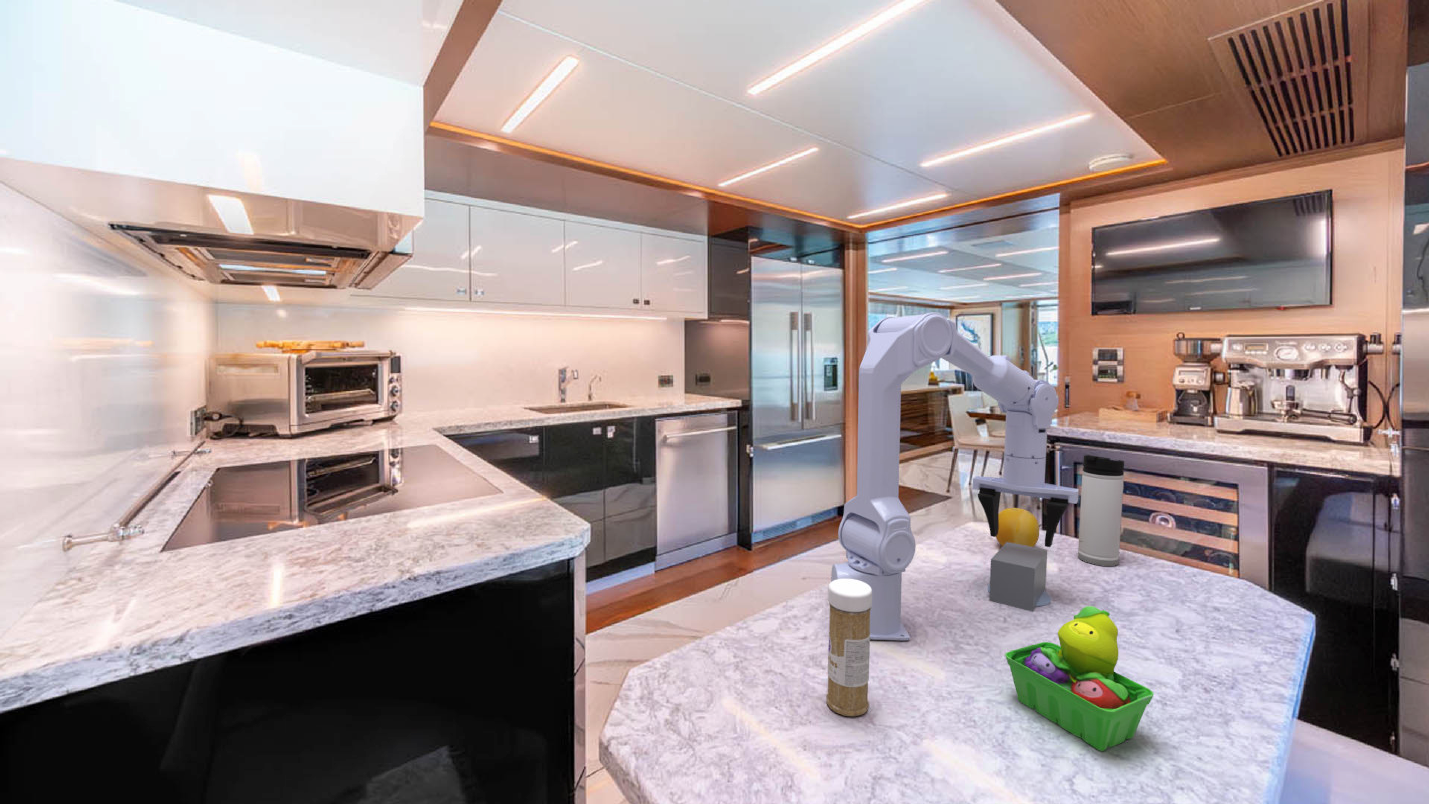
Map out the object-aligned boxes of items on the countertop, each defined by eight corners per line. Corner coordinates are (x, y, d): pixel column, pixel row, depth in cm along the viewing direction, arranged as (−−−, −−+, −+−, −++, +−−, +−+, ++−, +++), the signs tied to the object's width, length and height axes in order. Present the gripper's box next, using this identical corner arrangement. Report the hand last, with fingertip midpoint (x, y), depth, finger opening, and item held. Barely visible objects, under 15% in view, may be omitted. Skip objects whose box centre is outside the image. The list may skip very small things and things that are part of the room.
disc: (1003, 605, 84) (1003, 604, 84) (977, 582, 93) (977, 580, 93) (1063, 607, 84) (1063, 605, 84) (1032, 583, 93) (1032, 582, 93)
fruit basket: (998, 697, 62) (1003, 599, 61) (1051, 678, 65) (1056, 585, 64) (1106, 765, 51) (1113, 648, 50) (1162, 739, 55) (1169, 629, 54)
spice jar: (821, 694, 62) (823, 577, 61) (860, 691, 62) (862, 576, 61) (833, 720, 57) (836, 595, 56) (876, 717, 58) (879, 593, 57)
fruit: (1044, 558, 104) (1046, 517, 104) (997, 554, 107) (998, 513, 106) (1033, 543, 113) (1034, 505, 112) (989, 539, 115) (990, 502, 114)
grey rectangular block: (1032, 611, 82) (1034, 568, 82) (989, 600, 86) (990, 559, 86) (1045, 589, 90) (1047, 549, 90) (1005, 579, 94) (1006, 541, 94)
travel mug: (1068, 556, 105) (1073, 453, 104) (1094, 553, 107) (1100, 451, 106) (1100, 568, 99) (1106, 458, 98) (1126, 564, 101) (1133, 456, 100)
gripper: (1082, 457, 85) (1078, 543, 86) (981, 447, 94) (978, 525, 95) (1076, 464, 80) (1071, 555, 81) (970, 452, 89) (966, 535, 90)
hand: (1020, 540), depth 88 cm, fingers open, 7 cm apart
